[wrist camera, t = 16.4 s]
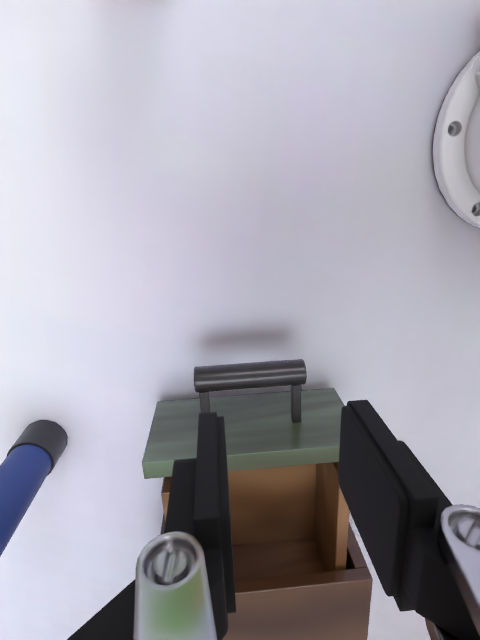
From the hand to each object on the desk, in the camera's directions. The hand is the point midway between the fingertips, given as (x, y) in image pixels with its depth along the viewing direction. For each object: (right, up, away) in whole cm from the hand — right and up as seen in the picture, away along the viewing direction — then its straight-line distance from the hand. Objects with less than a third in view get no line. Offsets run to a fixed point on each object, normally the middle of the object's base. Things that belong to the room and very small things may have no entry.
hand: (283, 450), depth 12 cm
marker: (-17, -5, +19) cm, 26 cm away
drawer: (-1, -7, +19) cm, 21 cm away
